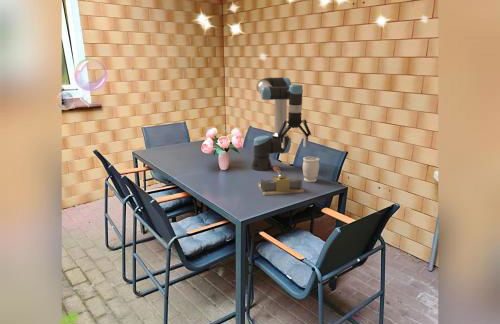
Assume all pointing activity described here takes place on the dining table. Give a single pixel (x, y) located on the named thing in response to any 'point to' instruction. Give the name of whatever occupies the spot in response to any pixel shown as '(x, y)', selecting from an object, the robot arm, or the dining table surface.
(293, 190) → the board
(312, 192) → the dining table surface
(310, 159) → the jar
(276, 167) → the lever
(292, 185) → the valve pipe
